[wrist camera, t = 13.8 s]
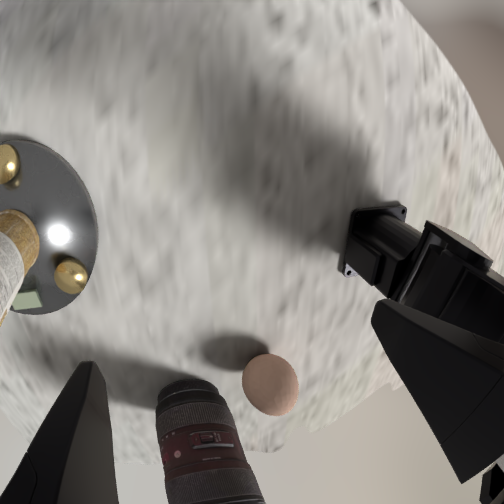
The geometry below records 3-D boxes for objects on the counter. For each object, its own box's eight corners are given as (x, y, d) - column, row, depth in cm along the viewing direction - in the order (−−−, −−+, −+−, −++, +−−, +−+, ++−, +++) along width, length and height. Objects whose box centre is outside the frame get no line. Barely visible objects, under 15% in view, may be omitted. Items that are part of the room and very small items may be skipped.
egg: (255, 381, 30) (277, 430, 25) (224, 365, 27) (244, 422, 22) (291, 353, 30) (320, 402, 24) (263, 334, 27) (291, 389, 21)
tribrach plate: (82, 118, 14) (75, 120, 13) (116, 296, 20) (115, 311, 19) (-58, 167, 11) (-71, 174, 9) (-11, 313, 17) (-17, 326, 15)
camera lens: (135, 395, 26) (155, 530, 14) (196, 363, 26) (241, 511, 14) (181, 422, 30) (211, 533, 18) (237, 395, 31) (284, 511, 18)
